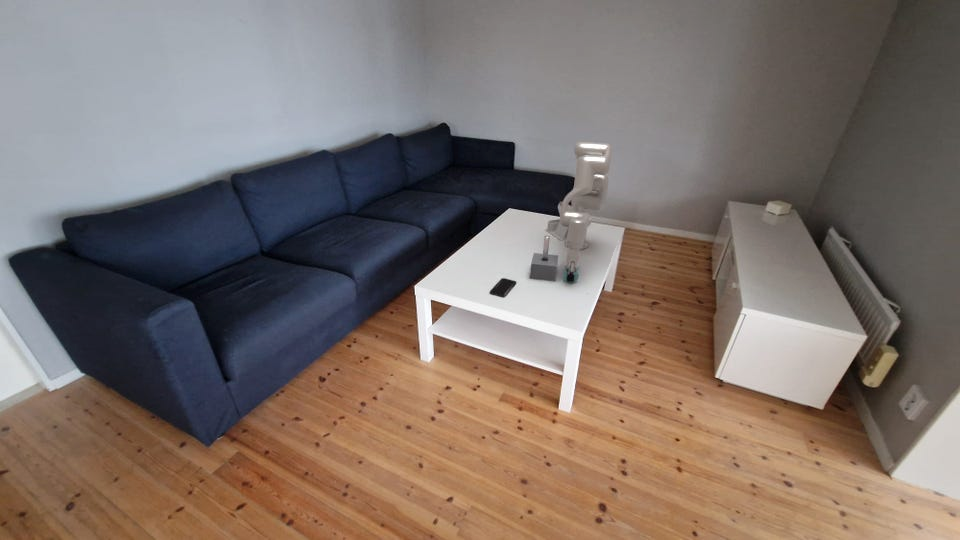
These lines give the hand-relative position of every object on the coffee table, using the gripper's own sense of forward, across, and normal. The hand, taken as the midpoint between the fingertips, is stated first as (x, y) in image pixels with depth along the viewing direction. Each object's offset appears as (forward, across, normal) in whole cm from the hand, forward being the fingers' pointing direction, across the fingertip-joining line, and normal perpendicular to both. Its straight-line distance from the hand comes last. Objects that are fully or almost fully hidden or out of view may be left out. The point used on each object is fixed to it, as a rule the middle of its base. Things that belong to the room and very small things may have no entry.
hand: (570, 277), depth 189 cm
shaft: (-5, -2, -13) cm, 14 cm away
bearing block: (+1, -2, -13) cm, 13 cm away
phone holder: (+1, -54, -8) cm, 55 cm away
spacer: (+1, 0, 0) cm, 1 cm away
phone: (+2, +16, -30) cm, 34 cm away
